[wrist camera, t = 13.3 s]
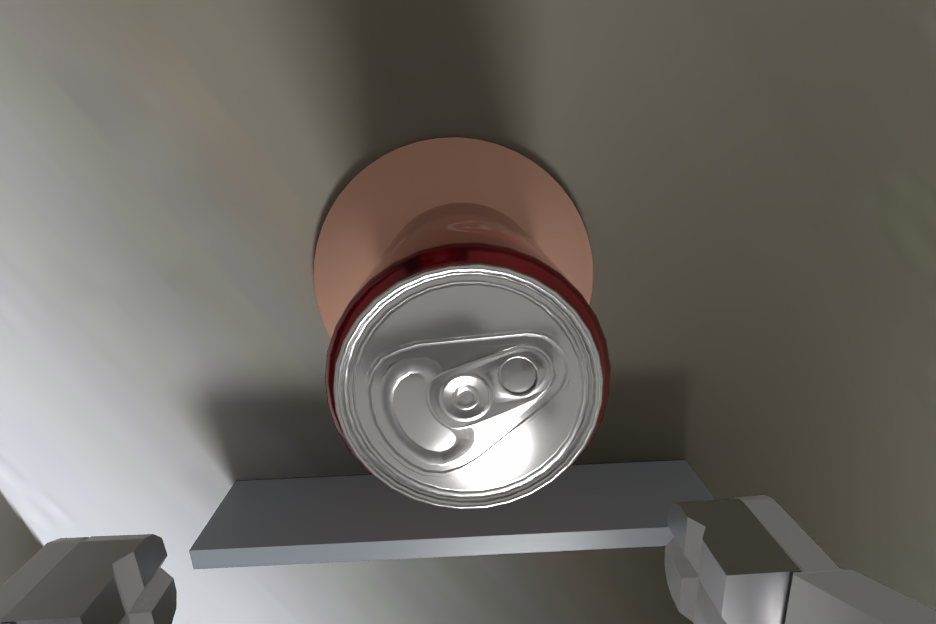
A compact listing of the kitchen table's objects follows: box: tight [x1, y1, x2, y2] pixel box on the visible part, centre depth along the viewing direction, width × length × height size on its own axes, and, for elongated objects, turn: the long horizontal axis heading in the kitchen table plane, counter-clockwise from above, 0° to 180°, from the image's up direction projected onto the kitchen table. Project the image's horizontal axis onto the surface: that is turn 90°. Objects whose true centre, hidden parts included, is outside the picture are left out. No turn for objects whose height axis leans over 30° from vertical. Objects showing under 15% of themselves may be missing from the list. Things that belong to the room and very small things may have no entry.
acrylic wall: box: [189, 460, 716, 569], centre depth 25 cm, size 24×1×5 cm, turn 92°
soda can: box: [325, 203, 611, 509], centre depth 18 cm, size 7×7×12 cm
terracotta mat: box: [314, 137, 593, 338], centre depth 24 cm, size 13×13×1 cm
